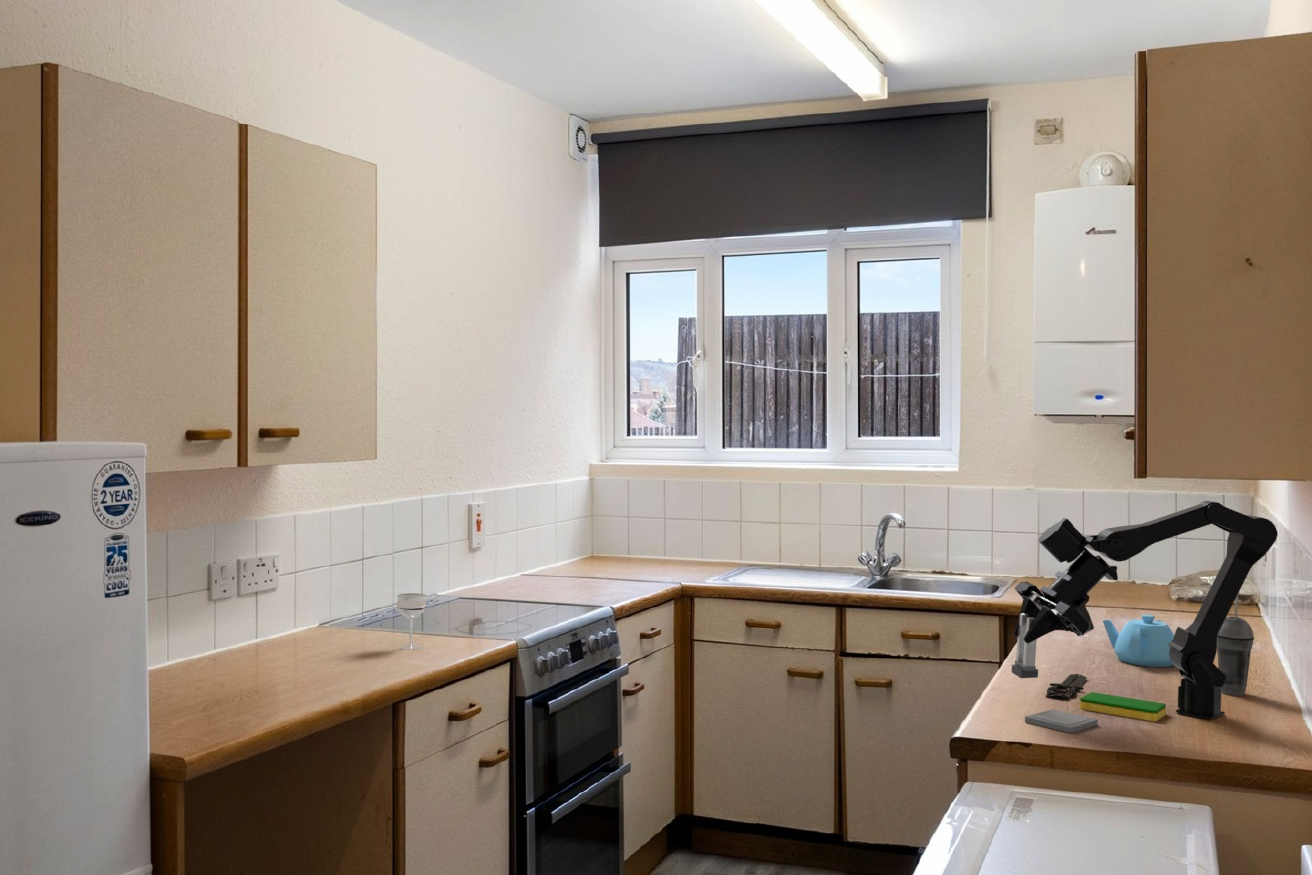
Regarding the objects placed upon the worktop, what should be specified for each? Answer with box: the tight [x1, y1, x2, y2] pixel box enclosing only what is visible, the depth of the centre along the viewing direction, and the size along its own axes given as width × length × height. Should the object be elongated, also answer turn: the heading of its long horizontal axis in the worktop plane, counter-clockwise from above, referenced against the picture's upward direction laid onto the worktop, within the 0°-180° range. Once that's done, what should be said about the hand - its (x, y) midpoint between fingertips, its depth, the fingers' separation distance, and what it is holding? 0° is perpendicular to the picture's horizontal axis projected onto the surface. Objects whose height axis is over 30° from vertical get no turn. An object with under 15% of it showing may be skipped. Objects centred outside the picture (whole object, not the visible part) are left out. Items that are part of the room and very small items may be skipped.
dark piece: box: [1045, 673, 1088, 701], centre depth 233 cm, size 25×6×1 cm, turn 145°
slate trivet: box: [1024, 708, 1099, 734], centre depth 204 cm, size 9×9×1 cm
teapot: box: [1102, 614, 1175, 668], centre depth 260 cm, size 15×15×11 cm
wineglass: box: [395, 592, 427, 651], centre depth 260 cm, size 7×7×12 cm
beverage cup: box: [1216, 595, 1255, 697], centre depth 230 cm, size 7×7×20 cm
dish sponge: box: [1079, 691, 1167, 722], centre depth 214 cm, size 7×14×2 cm, turn 52°
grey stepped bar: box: [1011, 613, 1039, 679], centre depth 214 cm, size 4×4×12 cm
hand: (1020, 638), depth 213 cm, fingers closed on grey stepped bar, 3 cm apart
